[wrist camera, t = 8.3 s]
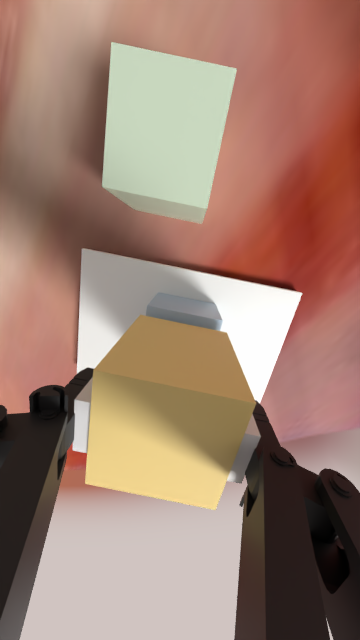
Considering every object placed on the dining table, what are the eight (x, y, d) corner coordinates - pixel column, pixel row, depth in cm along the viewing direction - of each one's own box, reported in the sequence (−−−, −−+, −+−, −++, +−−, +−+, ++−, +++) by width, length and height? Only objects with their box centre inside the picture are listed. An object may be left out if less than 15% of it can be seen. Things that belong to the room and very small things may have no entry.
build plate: (87, 248, 19) (43, 247, 14) (297, 291, 20) (339, 307, 14) (81, 368, 24) (46, 405, 18) (255, 402, 24) (274, 450, 18)
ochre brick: (140, 314, 14) (93, 369, 8) (226, 332, 14) (256, 403, 8) (129, 387, 16) (85, 483, 9) (206, 403, 16) (215, 510, 9)
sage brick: (144, 126, 16) (111, 41, 10) (219, 142, 16) (236, 68, 10) (134, 210, 18) (101, 186, 12) (201, 224, 18) (207, 208, 12)
